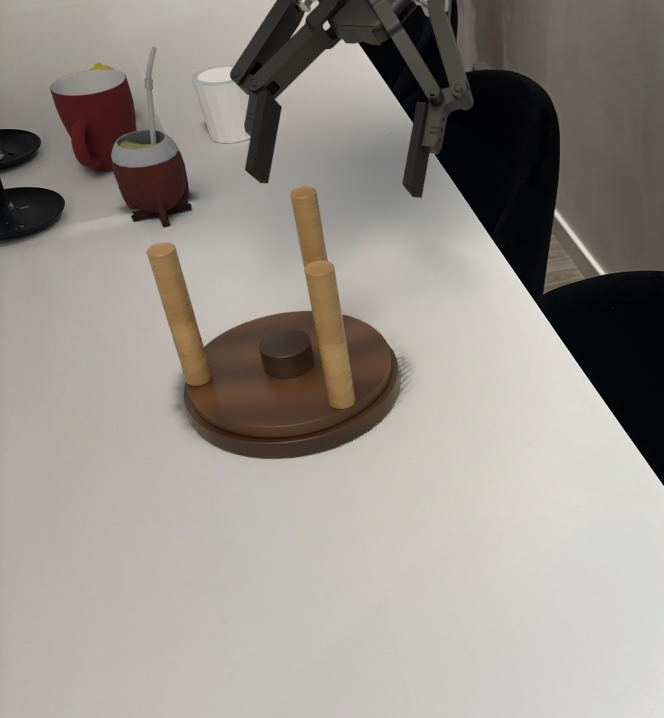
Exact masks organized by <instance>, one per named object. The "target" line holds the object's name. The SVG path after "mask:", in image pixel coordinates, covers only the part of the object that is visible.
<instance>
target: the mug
mask: <svg viewBox="0 0 664 718" xmlns="http://www.w3.org/2000/svg"><path fill="white" fill-rule="evenodd" d="M49 90H50V93H51V97H52V100H53V103H54V106H55V109H56V112H57V114H58V116H59V119H60V121H61V122H62V125H63V126H64V128H65V131H66V133H67V134H68V136H69V138H70V139H71V140H70V142H71V147H72V148H71V149H72V151H73V154H74V157H75V159H76V160H77V162H78V163H79V164H80V165H82V166H83V167H86V168H90V169H92V170H93V171H97V172H112V171H113V167H112V157H111V153H112V149H113V146H114V144H115V142H116V141H117V140H118V138H120V137H122V136H123V135H125V134H128V133H131V132H134V131H138V128H137V119H136V110H135V105H134V104H135V102H134V98H133V95H132V91H131V88H130V84H129V81H128V78H127V75H126V73H124V72H122V71H120V70H116V69H115V70H109V69H97V70H90V69H88V70H82V71H77V72H74V73H73V72H72V73H71V74H67V75H65V76H62V77H60V78H58V79H56V80H55V81H53V82H52V83H51V85H50V86H49ZM113 172H114V171H113Z"/></svg>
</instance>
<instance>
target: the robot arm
mask: <svg viewBox="0 0 664 718" xmlns="http://www.w3.org/2000/svg"><path fill="white" fill-rule="evenodd" d="M314 2H318V4H317V5H316V6H315V7H314V8H313V9H312V4H314ZM452 3H453V2H452V0H275V1H274V4H273V5H272V7H271V8H270V10H269V11H268V12H267V15H266V16H265V17H264V19H263V21H261V23H260V25H259V27H258V28H257V30H256V32H255V33H254V35H253V36H252V38H251V39H250V40H249V42H248V44H247V45H246V47H245V48H244V50H243V52H242V53H241V55H240V56H239V58H238V59H237V61H236V62H235V64H234V67H233V68H232V70H231V72H230V78H231V79H232V80H233V81H234V82H235V83H236V84H237V85H238V86H239V87H240V88H241V89H242V90H243V91H244V92H245V93H246V94H247V95H249V100H248V106H247V111H246V117H245V118H246V119H245V123H244V128H245V132H246V133H247V134H248V135H249V136H251V138H249V143H248V149H247V156H246V159H245V160H246V161H245V166H244V171H245V172H246V173H247V174H249V175H250V176H251V177H252V178H254V180H256V181H257V182H258V183H259V184H266V185H268V184H269V181H270V177H271V169H272V165H273V160H274V155H275V148H276V142H277V136H278V131H279V124H280V121H281V114H282V109H283V107H282V105H281V104H280V103H279V102H278V101H277V100H276V99H277V98H278V97H279V96H281V94H282V93H283V92H285V90H286V89H287V88H288V87H289V86H290V85H292V83H294V81H295V80H296V79H297V78H298V77H300V75H301V74H302V73H304V71H306V70H307V69H308V68H309V67H310V65H312V64H313V62H315V61H316V60H317V59H318V58H319V57H320V56H321V55H322V54H323V53H324V52H325V51H326V50H332V49H333V48H334V47H335V46H336V45H337V44H338V43H340V42H341V41H343V42H344V43H345V44H351V45H356V44H359V43H366V44H369V45H372V46H381V45H382V43H384V42H385V41H387V40H389V39H391V40H392V41H393V43H394V46H395V47H396V48H397V50H398V51H399V53H400V55H401V57H402V58H403V60H404V61H405V63H406V65H407V67H408V68H409V70H410V72H411V73H412V75H413V77H414V78H415V80H416V81H417V83H418V85H419V87H420V88H421V90H422V91H423V93H424V95H425V96H426V98H427V100H428V103H427V102H426V101H416V103H415V109H414V115H413V122H412V127H411V133H410V137H409V144H408V150H407V155H406V161H405V166H404V171H403V177H402V183H401V185H402V186H403V187H404V188H405V189H406V192H408V193H409V195H410V196H411V197H412V198H417V199H422V198H423V193H424V188H425V182H426V176H427V170H428V165H429V159H430V155H439V154H440V152H441V150H442V148H443V143H444V137H445V132H446V126H447V120H448V117H449V115H450V114H451V113H452V112H454V111H457V110H458V111H459V110H463V111H468V110H471V109H472V107H473V106H474V103H475V102H474V98H473V97H474V96H473V93H472V91H471V90H472V89H471V87H470V84H469V80H468V77H467V73H466V70H465V67H464V63H463V59H462V56H461V53H460V50H459V46H458V43H457V40H456V36H455V33H454V29H453V26H452V23H451V19H452ZM418 6H420V7H421V9H422V11H423V13H424V15H425V16H426V17H428V18H429V21H430V24H431V27H432V31H433V34H434V37H435V41H436V45H437V48H438V51H439V54H440V58H441V61H442V65H443V68H444V72H445V75H446V78H447V82H448V87H447V86H446V87H444V88H441V87H440V85H439V84H438V82H437V81H436V79H435V78H434V75H433V74H432V72H431V71H430V69H429V68H428V66H427V64H426V62H425V61H424V59H423V58H422V56H421V54H420V52H419V51H418V49H417V48H416V46H415V44H414V43H413V41H412V39H411V37H410V36H409V35H408V33H407V30H406V29H405V28H404V26H403V24H404V22H405V21H406V20H407V19H408V18H409V17H410V16H411V14H413V12H414V11H415V10H416V8H417V7H418ZM305 13H308V14H307V15H306V17H305V23H304V24H303V25H302V26H301V27H300V28H299V29H298V27H299V26H300V24H301V22H302V20H303V18H304V16H305ZM326 22H327V23H328V25H329V27H328V28H327V29H325V28H324V25H325V23H326ZM297 29H298V30H297Z"/></svg>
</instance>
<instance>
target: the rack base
mask: <svg viewBox="0 0 664 718" xmlns="http://www.w3.org/2000/svg"><path fill="white" fill-rule="evenodd" d="M387 344H388V346H389V349H390V353H391V361H392V372H391V376H390V380H389V382H388V384H387V386H386V388H385V389H384V391H383V392H382V394H381V395H380V396H379V397H378V398H377V399H376V400H375V401H374V402H373V403H372V404H371V405H370V406H368V407H367V408H366V409H365V410H363V411H362V412H360V413H359V414H357V415H355V416H354V417H352V418H350V419H348V420H346V421H344V422H342V423H339V424H337V425H334V426H332V427H329V428H326V429H323V430H320V431H316V432H312V433H307V434H303V435H296V436H290V437H276V438H270V437H252V436H245V435H240V434H235V433H232V432H229V431H225V430H223V429H220V428H218V427H216V426H214V425H212V424H211V423H209V422H208V421H206V420H205V419H204V418H203V417H201V416H200V415H199V414H198V412H197V411H196V410H195V408H194V407H193V405H192V402H191V400H190V397H189V394H188V390H187V384H186V382H185V383H184V386H183V402H184V406H185V409H186V413H187V417H188V419H189V421H190V423H191V426H192V427H193V429H194V430H195V432H196V433H197V434H198V435H199V436H200V437H201V438H202V439H204V440H205V441H206V442H207V443H209V444H211V445H212V446H214V447H215V448H218V449H220V450H222V451H225V452H228V453H231V454H235V455H239V456H243V457H248V458H256V459H273V460H274V459H290V458H291V459H292V458H298V457H299V458H300V457H306V456H310V455H314V454H320V453H323V452H326V451H330V450H333V449H335V448H339V447H340V446H343V445H345V444H348V443H350V442H352V441H354V440H356V439H357V438H359V437H361V436H363V435H364V434H366V433H368V432H369V431H370V430H372V429H374V428H375V427H376V426H377V425H378V424H379V423H380V422H382V421H383V420H384V418H385V417H387V415H388V414H389V413H390V411H391V410H392V408H393V407H394V405H395V403H397V402H396V401H397V399H398V397H399V393H400V389H401V375H400V366H399V362H398V358H397V356H396V353H395V351H394V350H393V348H392V347H391V346H390V344H389V343H388V342H387Z"/></svg>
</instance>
